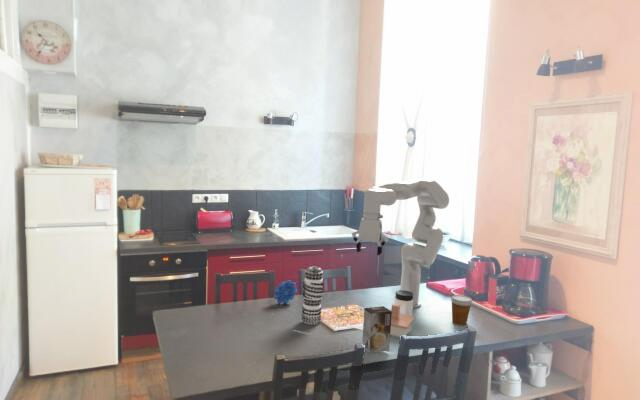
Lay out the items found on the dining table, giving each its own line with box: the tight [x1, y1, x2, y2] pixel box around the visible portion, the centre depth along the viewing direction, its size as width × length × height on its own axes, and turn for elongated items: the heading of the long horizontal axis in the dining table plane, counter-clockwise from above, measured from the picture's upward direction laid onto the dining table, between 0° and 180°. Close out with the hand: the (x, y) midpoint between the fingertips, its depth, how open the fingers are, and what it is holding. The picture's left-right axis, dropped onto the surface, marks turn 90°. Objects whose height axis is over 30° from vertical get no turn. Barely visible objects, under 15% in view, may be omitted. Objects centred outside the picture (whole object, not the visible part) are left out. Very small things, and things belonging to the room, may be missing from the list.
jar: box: [393, 290, 414, 316], centre depth 222 cm, size 9×8×12 cm
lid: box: [390, 302, 416, 329], centre depth 204 cm, size 14×14×7 cm
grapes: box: [273, 279, 298, 305], centre depth 232 cm, size 12×7×12 cm, turn 110°
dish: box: [390, 324, 412, 338], centre depth 204 cm, size 12×12×5 cm
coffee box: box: [361, 306, 392, 354], centre depth 185 cm, size 9×6×16 cm
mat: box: [347, 325, 363, 331], centre depth 211 cm, size 14×14×1 cm
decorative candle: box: [301, 265, 325, 326], centre depth 208 cm, size 9×9×25 cm
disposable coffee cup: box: [450, 294, 473, 326], centre depth 219 cm, size 10×10×12 cm
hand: (368, 253), depth 217 cm, fingers open, 9 cm apart
